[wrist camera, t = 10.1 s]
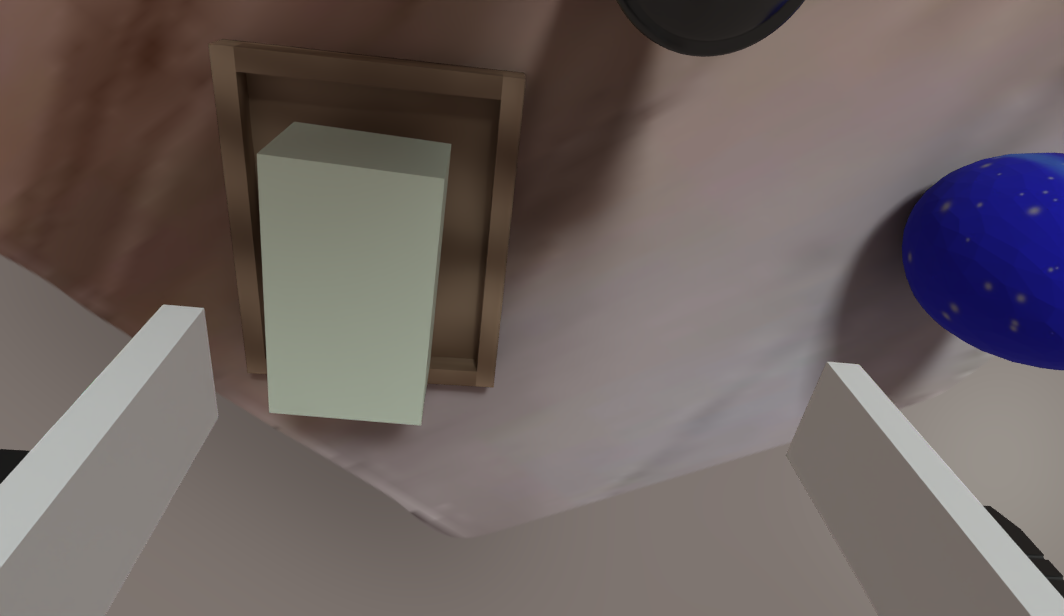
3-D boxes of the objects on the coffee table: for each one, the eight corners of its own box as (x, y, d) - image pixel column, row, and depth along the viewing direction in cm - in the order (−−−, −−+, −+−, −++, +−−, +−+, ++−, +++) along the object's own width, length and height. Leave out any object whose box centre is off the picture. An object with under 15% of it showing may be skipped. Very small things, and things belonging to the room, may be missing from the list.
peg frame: (222, 39, 33) (196, 47, 30) (524, 73, 35) (527, 84, 32) (257, 356, 43) (239, 386, 40) (493, 370, 45) (493, 400, 42)
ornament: (996, 282, 44) (1213, 422, 31) (863, 303, 44) (1022, 451, 31) (1035, 121, 38) (1318, 207, 25) (883, 145, 38) (1086, 244, 25)
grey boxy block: (429, 364, 40) (421, 425, 35) (298, 351, 39) (269, 412, 34) (451, 143, 33) (444, 178, 28) (294, 121, 32) (256, 153, 27)
